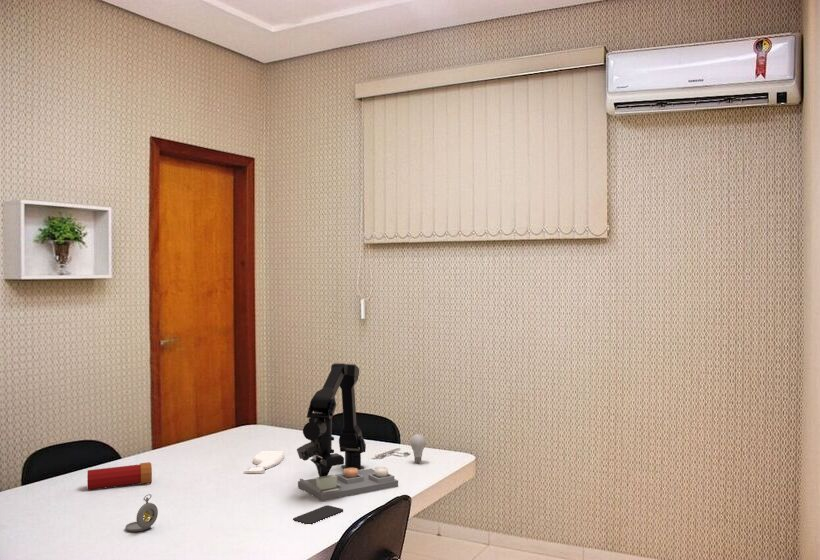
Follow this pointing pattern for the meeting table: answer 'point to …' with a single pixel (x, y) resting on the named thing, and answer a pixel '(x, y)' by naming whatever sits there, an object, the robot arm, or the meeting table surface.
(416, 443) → the lightbulb
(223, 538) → the meeting table surface
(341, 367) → the robot arm
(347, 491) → the control board
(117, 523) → the meeting table surface
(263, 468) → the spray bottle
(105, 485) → the red tube
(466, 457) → the meeting table surface
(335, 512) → the phone
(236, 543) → the meeting table surface
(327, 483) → the pale green block
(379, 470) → the offwhite button
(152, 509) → the pocket watch
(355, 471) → the terracotta button
